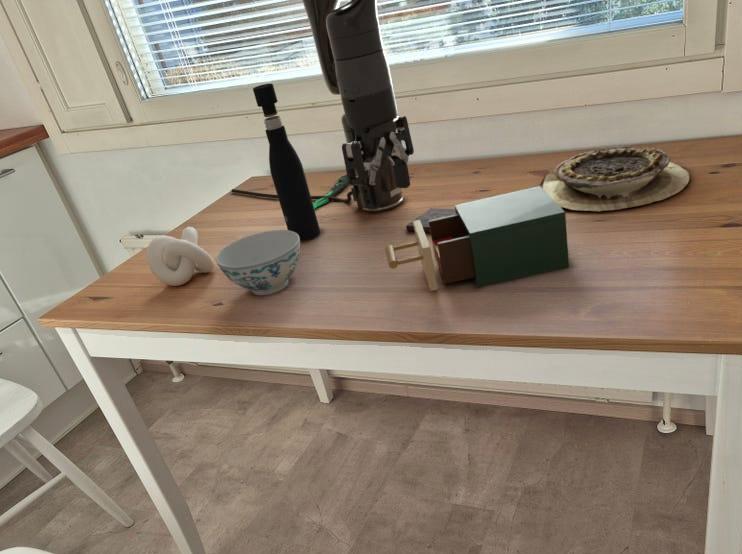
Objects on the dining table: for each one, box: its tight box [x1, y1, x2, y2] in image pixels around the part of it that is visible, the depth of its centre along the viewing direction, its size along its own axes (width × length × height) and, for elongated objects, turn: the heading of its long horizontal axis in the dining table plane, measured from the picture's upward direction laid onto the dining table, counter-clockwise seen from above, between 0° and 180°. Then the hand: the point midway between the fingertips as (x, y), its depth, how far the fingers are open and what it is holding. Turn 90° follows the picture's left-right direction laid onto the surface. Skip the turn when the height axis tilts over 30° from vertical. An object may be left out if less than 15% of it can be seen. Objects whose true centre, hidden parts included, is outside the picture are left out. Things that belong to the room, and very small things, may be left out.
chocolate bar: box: [405, 207, 456, 233], centre depth 129 cm, size 9×1×18 cm
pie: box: [538, 145, 690, 212], centre depth 130 cm, size 28×27×5 cm
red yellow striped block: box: [431, 237, 453, 275], centre depth 110 cm, size 8×3×3 cm, turn 7°
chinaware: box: [215, 229, 301, 296], centre depth 120 cm, size 15×15×8 cm
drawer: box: [384, 214, 476, 292], centre depth 109 cm, size 19×12×7 cm, turn 96°
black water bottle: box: [252, 83, 321, 243], centre depth 133 cm, size 6×6×30 cm
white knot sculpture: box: [146, 226, 215, 287], centre depth 133 cm, size 11×12×9 cm
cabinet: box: [454, 185, 570, 288], centre depth 109 cm, size 15×14×9 cm
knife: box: [312, 174, 350, 210], centre depth 162 cm, size 23×1×5 cm
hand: (389, 197), depth 104 cm, fingers open, 8 cm apart
